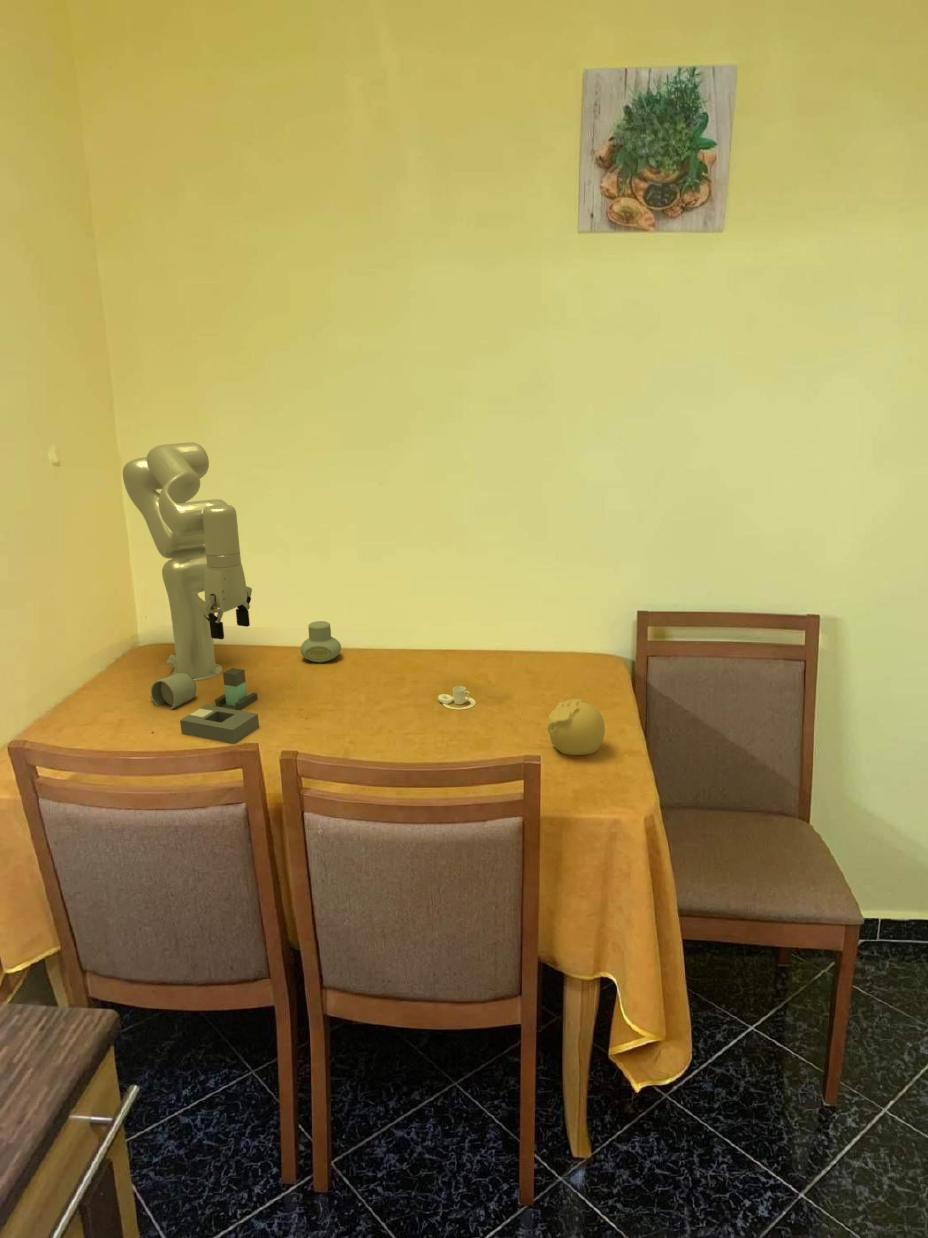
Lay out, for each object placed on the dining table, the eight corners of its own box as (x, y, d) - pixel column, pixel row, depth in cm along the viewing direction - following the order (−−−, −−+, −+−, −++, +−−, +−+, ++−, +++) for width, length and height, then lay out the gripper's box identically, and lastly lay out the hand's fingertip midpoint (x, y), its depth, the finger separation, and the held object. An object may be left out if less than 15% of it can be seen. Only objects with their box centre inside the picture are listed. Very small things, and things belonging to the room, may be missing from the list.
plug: (226, 704, 205) (222, 672, 203) (235, 698, 208) (232, 667, 206) (238, 706, 204) (235, 674, 202) (247, 701, 207) (244, 669, 205)
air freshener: (298, 664, 233) (296, 629, 230) (304, 653, 240) (301, 619, 237) (339, 664, 233) (337, 628, 230) (343, 653, 241) (341, 619, 237)
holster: (215, 709, 205) (214, 699, 204) (233, 698, 211) (233, 689, 210) (240, 713, 202) (239, 704, 201) (258, 702, 208) (257, 693, 208)
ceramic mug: (200, 701, 209) (196, 671, 207) (176, 714, 202) (172, 683, 200) (167, 695, 214) (163, 665, 212) (142, 707, 207) (138, 677, 205)
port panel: (182, 736, 191) (179, 719, 189) (208, 720, 199) (206, 703, 197) (234, 747, 186) (232, 729, 184) (259, 730, 193) (257, 712, 192)
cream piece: (433, 704, 207) (432, 688, 206) (456, 694, 213) (455, 679, 212) (459, 714, 202) (459, 698, 200) (482, 704, 207) (482, 688, 206)
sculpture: (552, 734, 190) (553, 688, 187) (607, 740, 187) (609, 694, 183) (541, 757, 180) (542, 709, 176) (599, 764, 176) (601, 716, 173)
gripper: (233, 550, 205) (239, 619, 210) (185, 567, 189) (193, 641, 195) (259, 552, 202) (266, 622, 207) (213, 570, 187) (221, 645, 192)
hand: (230, 632), depth 201 cm, fingers open, 9 cm apart
